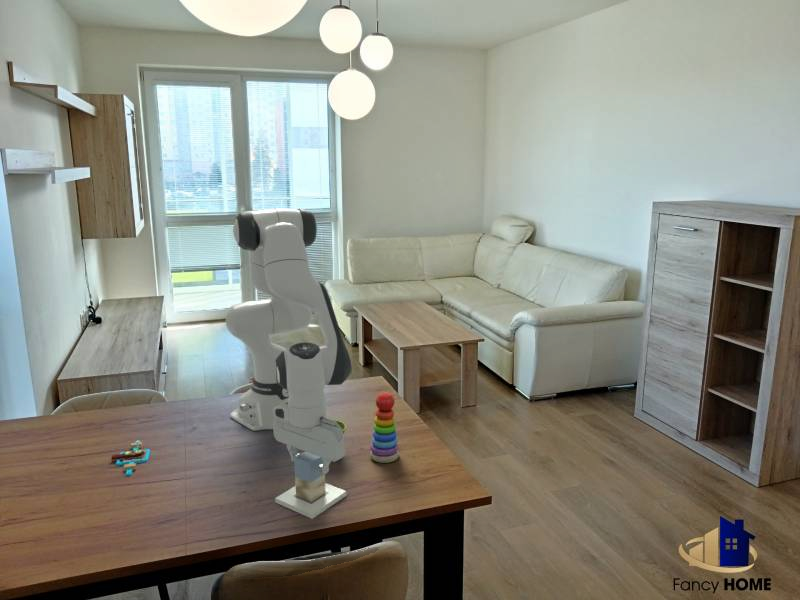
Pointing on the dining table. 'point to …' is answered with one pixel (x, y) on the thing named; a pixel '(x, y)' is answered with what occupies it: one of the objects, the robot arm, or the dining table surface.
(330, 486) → the plate
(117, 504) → the dining table surface
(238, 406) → the robot arm
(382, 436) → the stacking toy
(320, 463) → the slate blue block
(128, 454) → the gear mechanism
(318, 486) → the maple block
